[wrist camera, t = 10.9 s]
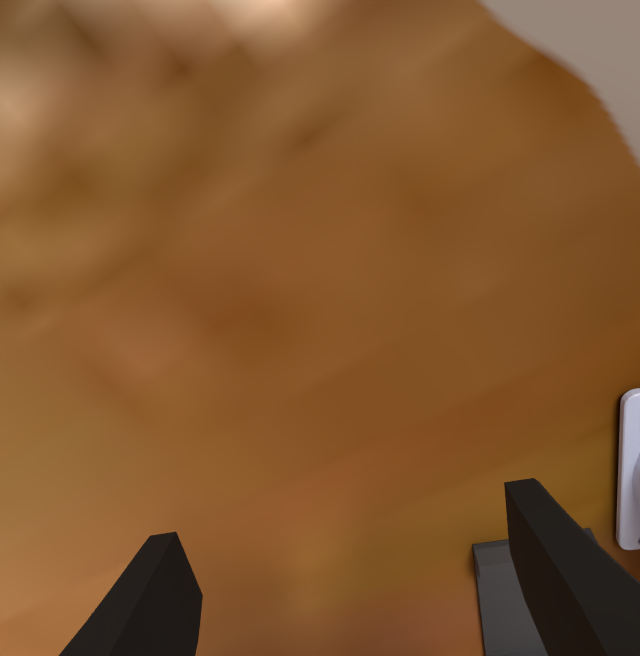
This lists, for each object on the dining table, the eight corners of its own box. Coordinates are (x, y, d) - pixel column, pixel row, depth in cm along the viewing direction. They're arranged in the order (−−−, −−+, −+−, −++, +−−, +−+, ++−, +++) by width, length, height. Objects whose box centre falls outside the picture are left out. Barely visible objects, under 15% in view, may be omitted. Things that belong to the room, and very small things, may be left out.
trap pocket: (589, 528, 25) (601, 550, 24) (588, 648, 29) (599, 672, 28) (472, 544, 26) (479, 566, 25) (485, 660, 29) (492, 684, 28)
